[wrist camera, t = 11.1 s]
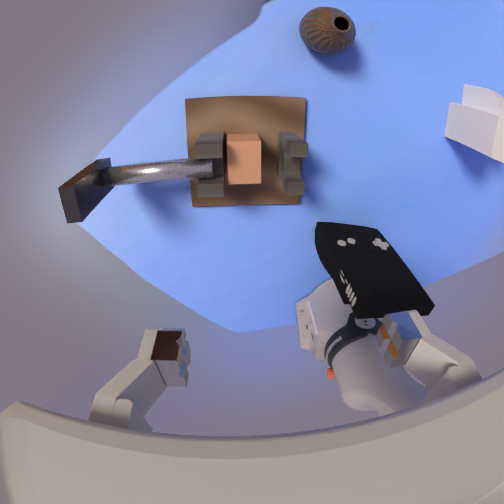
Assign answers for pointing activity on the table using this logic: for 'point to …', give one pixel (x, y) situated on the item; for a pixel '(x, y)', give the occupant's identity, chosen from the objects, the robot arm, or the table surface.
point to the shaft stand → (272, 147)
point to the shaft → (122, 181)
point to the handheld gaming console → (368, 271)
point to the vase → (327, 30)
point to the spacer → (244, 158)
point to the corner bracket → (478, 121)
